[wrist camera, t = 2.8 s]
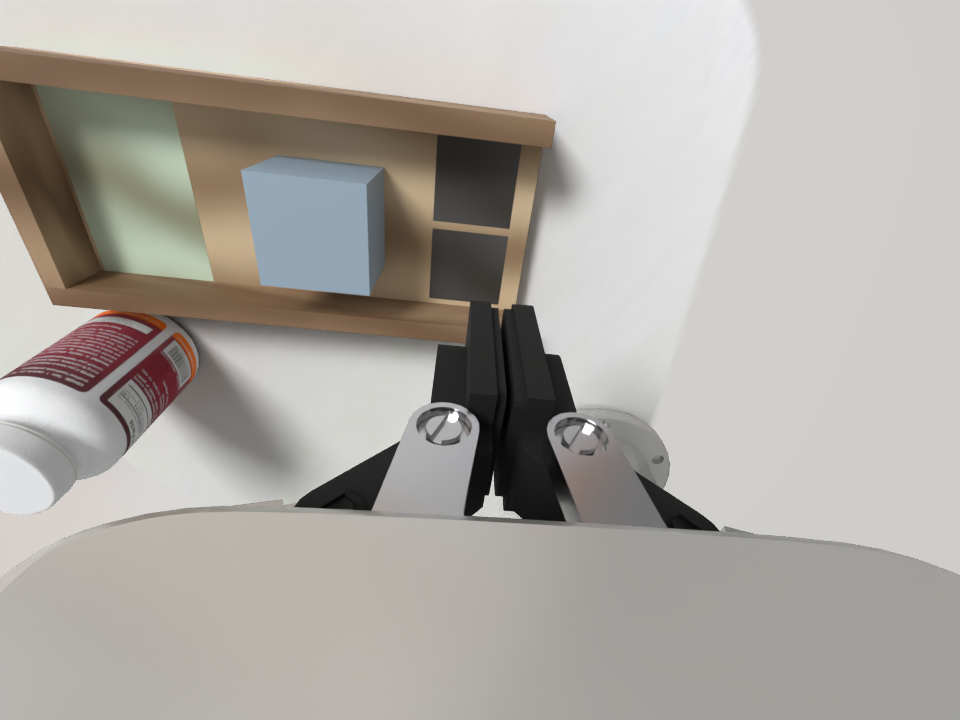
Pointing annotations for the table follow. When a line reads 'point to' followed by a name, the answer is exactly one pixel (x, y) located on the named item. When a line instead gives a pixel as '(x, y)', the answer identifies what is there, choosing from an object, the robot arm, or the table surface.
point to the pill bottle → (86, 403)
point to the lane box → (221, 197)
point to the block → (317, 223)
